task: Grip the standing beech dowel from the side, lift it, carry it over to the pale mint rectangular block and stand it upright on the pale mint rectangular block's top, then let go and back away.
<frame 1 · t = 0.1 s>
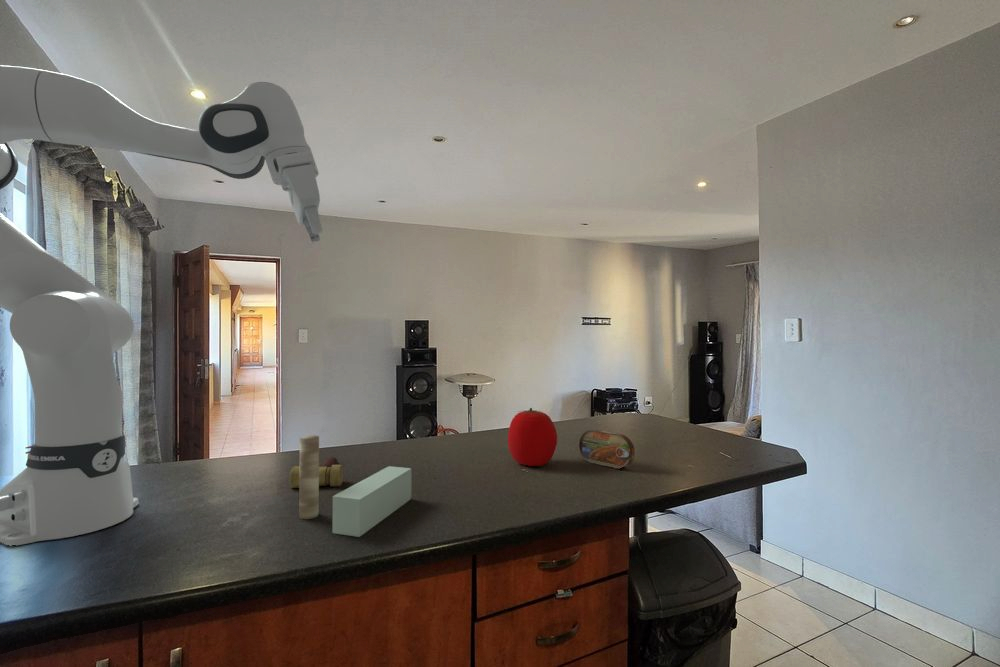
hand: (317, 237, 95), 52 cm above the worktop, tool tilted 20°, fingers open, 8 cm apart
pale mint rectangular block: (375, 514, 84), on the worktop
dowel: (308, 515, 83), on the worktop
tin: (606, 465, 117), on the worktop
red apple: (531, 465, 117), on the worktop
gavel: (325, 476, 108), on the worktop
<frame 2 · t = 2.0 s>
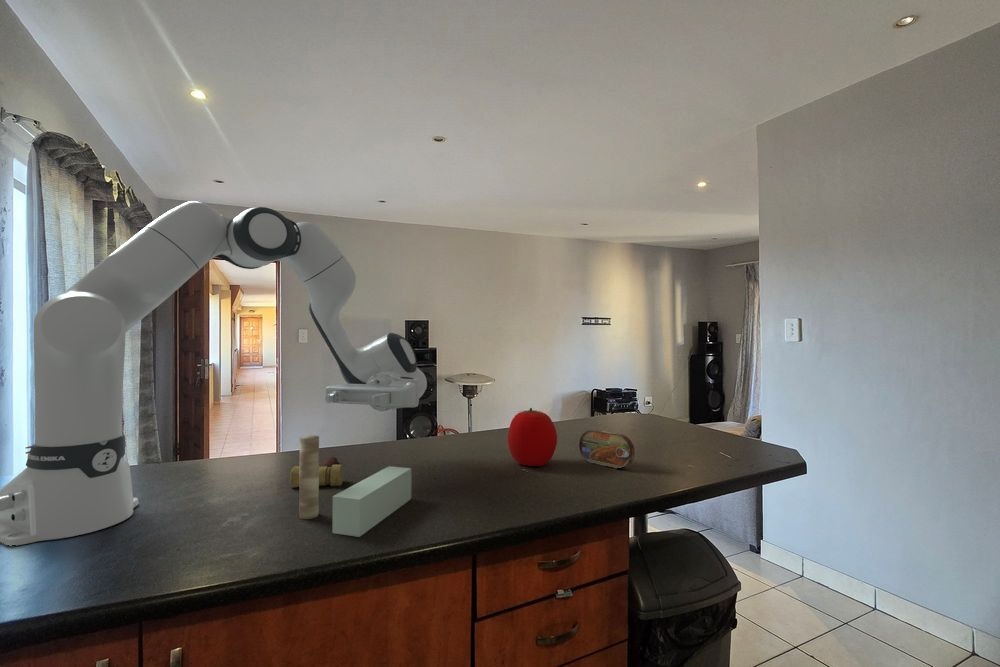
hand: (350, 399, 95), 19 cm above the worktop, tool horizontal, fingers open, 8 cm apart
nothing on the worktop moved.
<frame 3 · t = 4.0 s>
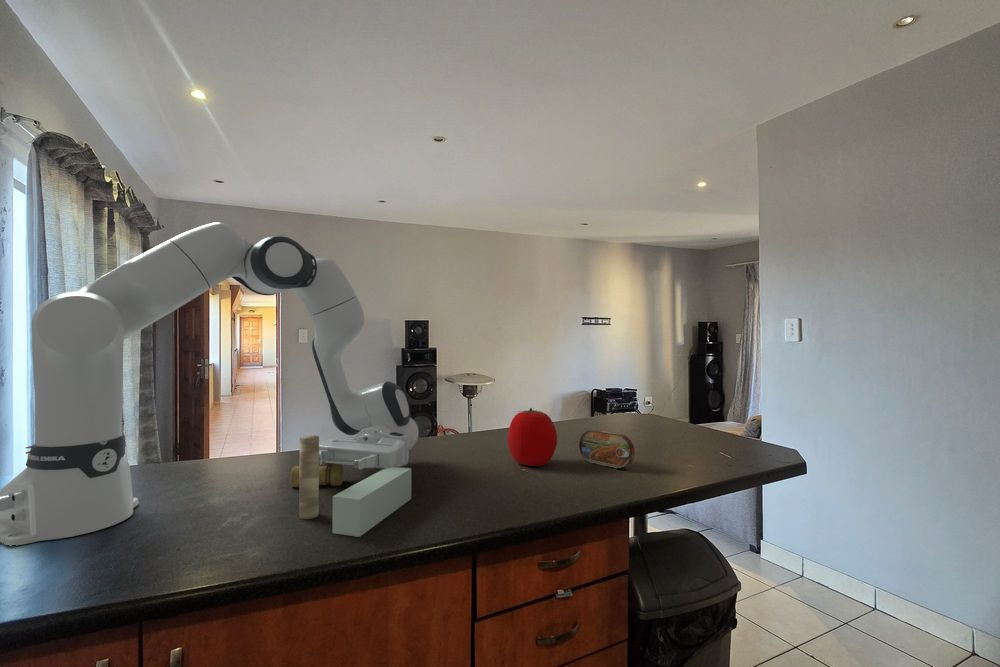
hand: (335, 462, 91), 7 cm above the worktop, tool horizontal, fingers open, 8 cm apart
nothing on the worktop moved.
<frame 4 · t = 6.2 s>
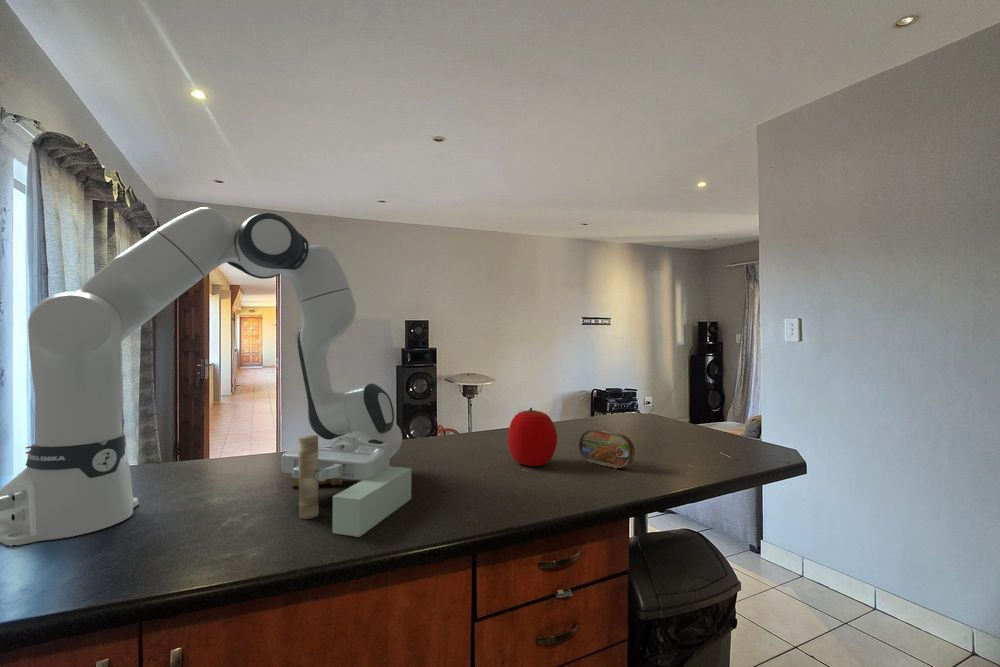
hand: (306, 475, 83), 7 cm above the worktop, tool horizontal, fingers closed on dowel, 3 cm apart
dowel: (308, 515, 83), on the worktop, touching gripper
everything else where it was.
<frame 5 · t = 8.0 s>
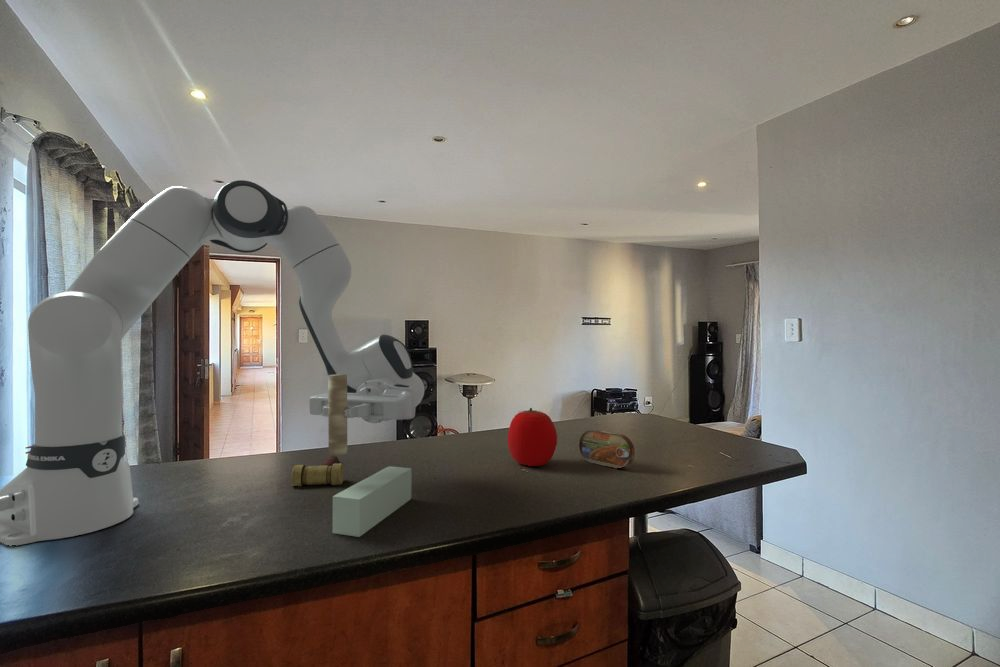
hand: (336, 412, 83), 18 cm above the worktop, tool horizontal, fingers closed on dowel, 3 cm apart
dowel: (338, 453, 84), point 11 cm above the worktop, touching gripper
everything else where it was.
when the fingers open (15 cm above the worktop, at t = 9.4 s): dowel drops 1 cm, resting on pale mint rectangular block.
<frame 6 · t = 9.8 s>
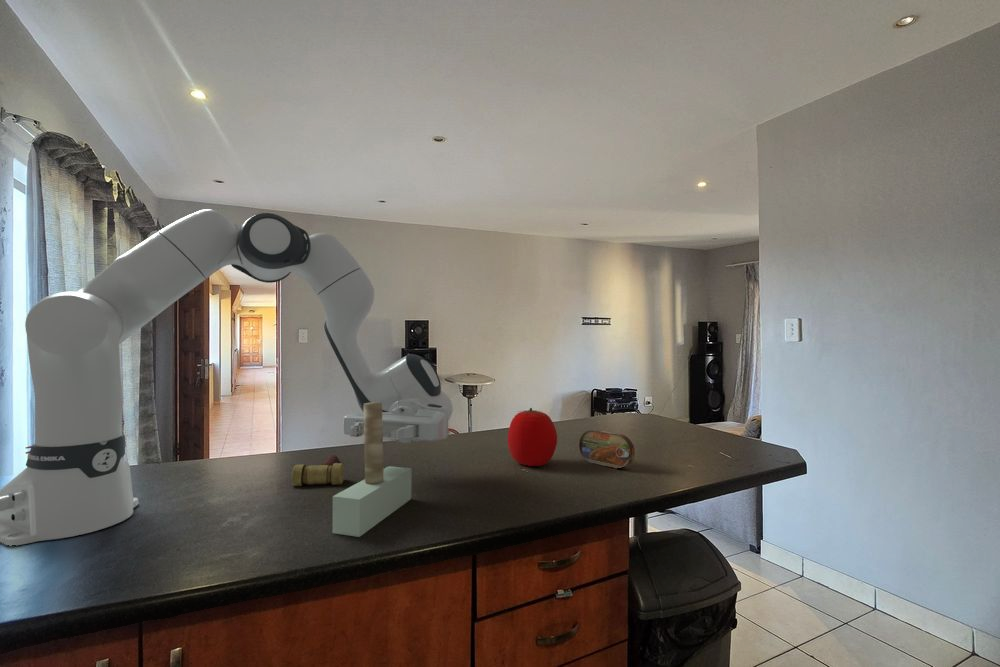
hand: (373, 433, 83), 15 cm above the worktop, tool horizontal, fingers open, 7 cm apart
dowel: (374, 481, 83), point 6 cm above the worktop, touching pale mint rectangular block
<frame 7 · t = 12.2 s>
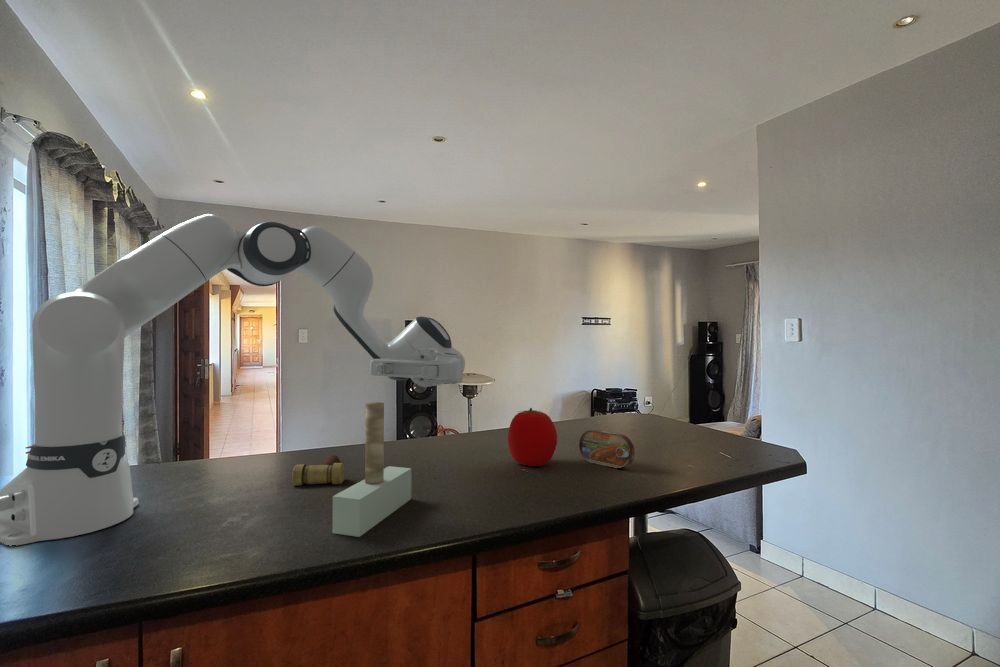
hand: (398, 370, 95), 25 cm above the worktop, tool horizontal, fingers open, 8 cm apart
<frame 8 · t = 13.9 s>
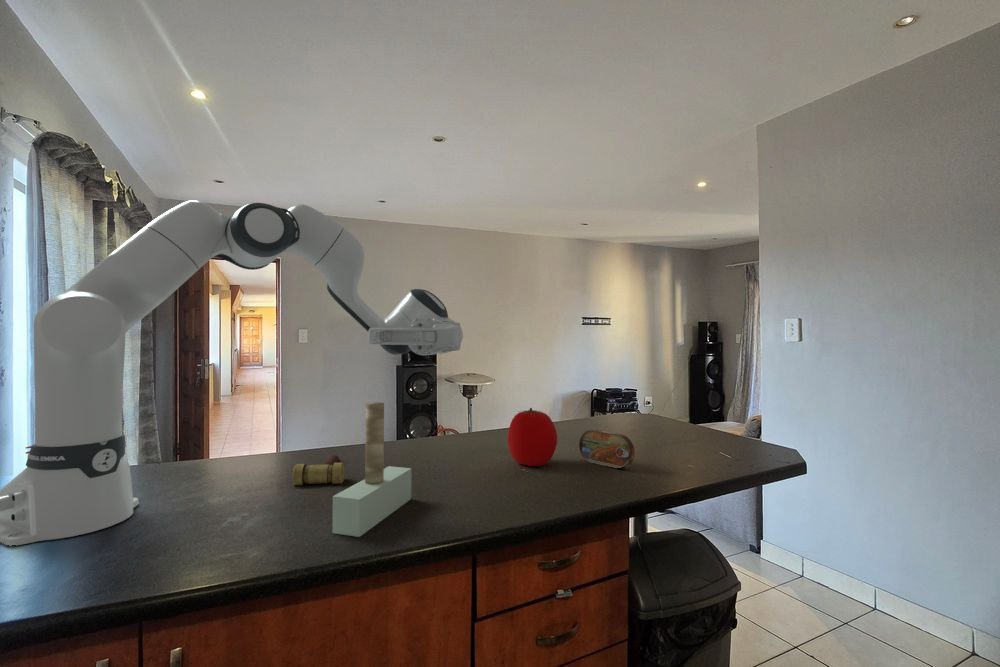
hand: (396, 336, 95), 32 cm above the worktop, tool horizontal, fingers open, 8 cm apart
at the end: dowel inside the target area on the pale mint rectangular block (0.4 cm from its centre), point 6.0 cm above the pale mint rectangular block's base; dowel tilted 0°; the gripper is holding nothing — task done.
